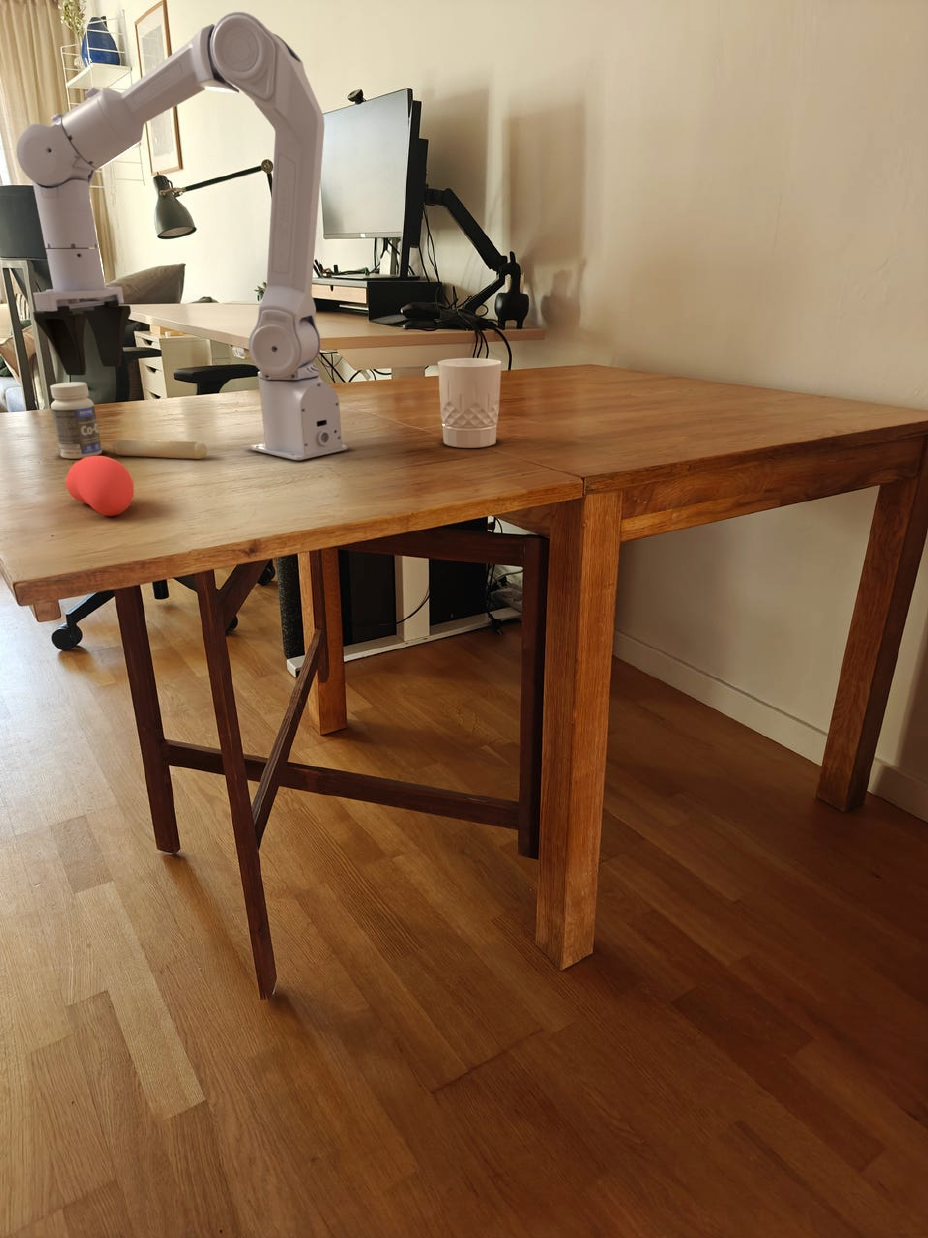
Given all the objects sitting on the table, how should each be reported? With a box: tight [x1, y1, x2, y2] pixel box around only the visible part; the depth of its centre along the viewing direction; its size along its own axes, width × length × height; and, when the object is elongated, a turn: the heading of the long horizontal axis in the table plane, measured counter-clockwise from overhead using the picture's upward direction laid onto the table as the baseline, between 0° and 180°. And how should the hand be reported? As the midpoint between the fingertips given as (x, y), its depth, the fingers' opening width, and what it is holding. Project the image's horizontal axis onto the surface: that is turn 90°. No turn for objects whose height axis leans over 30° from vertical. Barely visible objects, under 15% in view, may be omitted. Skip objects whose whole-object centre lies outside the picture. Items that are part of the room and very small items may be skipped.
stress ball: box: [65, 455, 135, 517], centre depth 80 cm, size 5×9×6 cm
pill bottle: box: [49, 381, 103, 460], centre depth 100 cm, size 5×5×8 cm
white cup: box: [437, 357, 502, 449], centre depth 105 cm, size 8×8×10 cm
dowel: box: [112, 438, 208, 460], centre depth 100 cm, size 12×2×2 cm
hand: (94, 370), depth 102 cm, fingers open, 7 cm apart
